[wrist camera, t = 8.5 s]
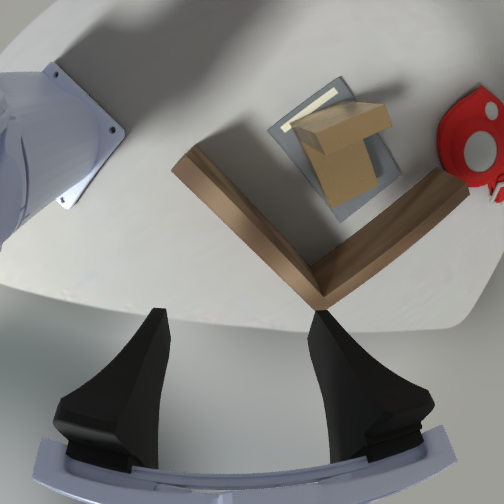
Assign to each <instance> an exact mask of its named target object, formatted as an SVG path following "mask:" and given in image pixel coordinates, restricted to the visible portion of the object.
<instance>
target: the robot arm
mask: <svg viewBox="0 0 504 504" xmlns="http://www.w3.org/2000/svg"><path fill="white" fill-rule="evenodd" d="M57 73H59V75H58V77H57V78H56V74H57ZM112 127H115V129H116V131H115V133H112V131H111V128H112ZM124 137H125V131H124V129H123V128H122V127H121V126H120V125H119V124H118V123H117V122H116V121H115V120H114V119H113V118H112V117H111V116H110V115H109V114H108V113H106V112H105V111H104V110H103V109H102V108H101V107H100V106H99V105H98V104H97V103H96V102H95V101H94V100H93V99H92V98H91V97H90V96H89V95H88V94H87V93H86V92H85V91H84V90H83V89H82V88H81V87H80V86H79V85H78V84H77V83H75V82H74V81H73V80H72V79H71V78H70V77H69V76H68V75H67V74H66V73H65V72H64V71H63V70H62V69H61V68H60V67H59V66H58V65H57V64H56V63H54V62H50V63H48V64H47V65H46V67H45V68H44V70H43V71H42V72H5V73H0V251H1V248H2V244H3V242H4V241H5V240H6V239H8V238H9V237H10V236H11V235H12V234H13V233H14V232H15V231H16V230H18V229H19V228H20V227H21V226H22V225H23V224H25V223H26V222H27V221H28V220H29V219H31V218H32V217H33V216H34V215H36V214H37V213H38V212H39V211H41V210H42V209H43V208H44V207H46V206H47V205H48V204H50V203H51V202H52V201H54V200H55V199H56V200H57V201H58V202H59V203H60V204H61V205H62V206H63V207H64V208H65V209H67V210H69V209H71V208H72V207H73V206H74V204H75V203H76V201H77V200H78V198H79V197H80V195H81V194H82V192H83V191H84V189H85V188H86V186H87V185H88V184H89V182H90V181H91V179H92V178H93V177H94V175H95V174H96V173H97V171H98V170H99V169H100V167H101V166H102V165H103V163H104V162H105V161H106V160H107V158H108V157H109V156H110V154H111V153H112V152H113V151H114V149H115V148H116V147H117V146H118V145H119V143H120V142H121V141H122V140H123V139H124ZM63 197H64V198H65V201H64V200H63ZM307 339H308V346H309V352H310V356H311V360H312V363H313V367H314V370H315V373H316V376H317V380H318V383H319V386H320V389H321V393H322V396H323V401H324V407H325V412H326V419H327V427H328V436H329V447H330V464H328V465H323V466H318V467H311V468H304V469H297V470H289V471H280V472H269V473H253V474H200V473H185V472H174V471H165V470H159V469H158V423H159V406H160V398H161V391H162V387H163V381H164V377H165V373H166V368H167V363H168V359H169V351H170V342H171V336H170V330H169V325H168V318H167V312H166V309H165V308H153V309H152V310H151V312H150V313H149V315H148V316H147V318H146V319H145V321H144V322H143V324H142V325H141V326H140V328H139V329H138V331H137V332H136V333H135V334H134V336H133V337H132V338H131V340H130V341H129V342H128V343H127V345H126V346H125V347H124V348H123V349H122V350H121V352H120V353H119V354H118V355H117V356H116V357H115V358H114V359H113V360H112V361H111V362H110V363H109V364H108V365H107V366H106V367H105V368H104V369H103V370H102V371H101V372H99V373H98V374H97V375H96V376H94V377H93V378H92V379H91V380H89V381H88V382H86V383H85V384H84V385H82V386H81V387H80V388H78V389H77V390H75V391H73V392H72V393H70V394H68V395H67V396H65V397H63V398H61V400H60V402H59V404H58V407H57V410H56V413H55V416H54V420H53V425H54V426H55V428H56V429H57V430H58V431H59V432H60V433H61V434H62V435H63V436H64V437H66V438H67V439H68V440H69V442H68V446H67V445H65V444H63V443H61V442H58V441H55V440H53V439H50V438H47V437H45V436H42V438H41V441H40V445H39V449H38V452H37V457H36V461H35V465H34V470H33V474H32V479H33V480H34V481H36V482H38V483H40V484H42V485H44V486H46V487H48V488H50V489H52V490H54V491H56V492H58V493H60V494H63V495H66V496H68V497H70V498H73V499H76V500H79V501H82V502H84V503H88V504H367V503H370V502H374V501H376V500H379V499H382V498H385V497H387V496H390V495H392V494H395V493H397V492H400V491H402V490H405V489H407V488H409V487H411V486H414V485H416V484H418V483H420V482H422V481H424V480H426V479H429V478H430V477H432V476H434V475H436V474H438V473H439V472H441V471H443V470H444V469H446V468H448V467H449V466H451V465H453V464H454V463H456V462H457V458H456V456H455V453H454V451H453V448H452V446H451V443H450V441H449V438H448V436H447V434H446V432H445V429H444V427H443V425H440V426H437V427H435V428H433V429H430V430H428V431H426V432H424V433H422V434H421V432H420V429H422V425H421V421H422V420H423V419H424V418H425V417H426V416H427V415H428V414H429V413H430V412H431V411H432V410H433V408H434V406H435V403H434V401H433V399H432V397H431V395H430V393H429V391H428V390H426V389H424V388H422V387H419V386H417V385H415V384H413V383H411V382H409V381H407V380H405V379H404V378H402V377H400V376H398V375H397V374H395V373H394V372H392V371H391V370H389V369H388V368H386V367H385V366H383V365H382V364H381V363H379V362H378V361H377V360H376V359H374V358H373V357H372V356H371V355H370V354H368V353H367V352H366V351H365V350H364V349H363V348H362V347H361V346H360V345H359V344H358V343H357V342H356V341H355V340H354V339H353V338H352V337H351V336H350V335H349V334H348V333H347V332H346V331H345V329H344V328H343V327H342V326H341V325H340V324H339V323H338V322H337V320H336V319H335V318H334V317H333V316H332V315H331V314H330V313H329V311H328V310H316V311H315V314H314V318H313V321H312V325H311V328H310V331H309V335H308V338H307ZM313 482H318V483H313ZM307 483H311V484H307ZM300 484H303V485H300ZM293 485H296V486H293ZM285 486H288V487H285ZM276 487H279V488H276ZM186 488H189V489H186ZM264 488H269V489H264ZM191 489H207V490H209V489H210V490H237V491H227V492H221V493H192V491H191ZM247 489H255V490H247Z"/></svg>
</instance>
